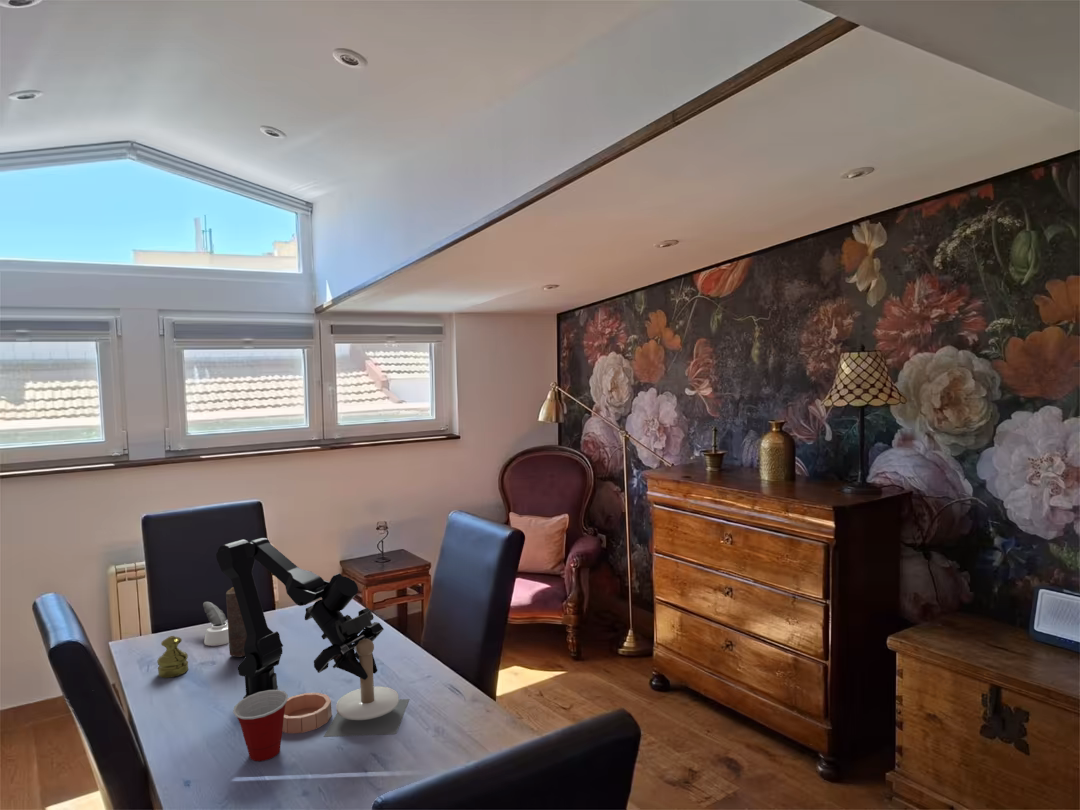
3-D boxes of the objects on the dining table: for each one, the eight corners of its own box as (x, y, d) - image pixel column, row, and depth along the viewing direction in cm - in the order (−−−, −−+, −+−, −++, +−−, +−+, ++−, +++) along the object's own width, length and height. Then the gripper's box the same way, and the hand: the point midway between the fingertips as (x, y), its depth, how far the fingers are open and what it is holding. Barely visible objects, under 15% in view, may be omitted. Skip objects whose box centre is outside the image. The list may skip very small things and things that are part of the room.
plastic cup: (226, 759, 146) (223, 704, 145) (274, 737, 154) (271, 684, 154) (252, 777, 139) (248, 719, 138) (301, 753, 147) (297, 698, 147)
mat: (323, 739, 153) (323, 736, 153) (343, 703, 169) (343, 701, 169) (396, 736, 153) (396, 733, 153) (409, 701, 169) (409, 699, 169)
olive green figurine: (167, 667, 194) (165, 632, 194) (194, 666, 194) (191, 631, 194) (152, 678, 187) (149, 642, 187) (179, 678, 187) (177, 642, 186)
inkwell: (211, 648, 206) (209, 615, 206) (187, 634, 219) (185, 603, 218) (242, 639, 213) (240, 607, 213) (217, 626, 225) (215, 595, 225)
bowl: (268, 736, 155) (267, 719, 155) (287, 710, 167) (286, 693, 166) (321, 734, 155) (320, 717, 155) (337, 708, 167) (336, 691, 167)
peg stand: (328, 721, 154) (325, 652, 153) (346, 691, 168) (342, 628, 167) (391, 718, 154) (388, 650, 153) (404, 689, 168) (401, 626, 167)
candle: (246, 661, 196) (242, 591, 195) (223, 660, 198) (219, 591, 197) (262, 650, 204) (258, 583, 203) (240, 649, 205) (236, 582, 204)
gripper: (320, 614, 153) (362, 672, 148) (375, 589, 169) (414, 639, 165) (295, 644, 156) (336, 701, 152) (352, 616, 173) (389, 666, 169)
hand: (371, 675), depth 160 cm, fingers closed on peg stand, 3 cm apart
